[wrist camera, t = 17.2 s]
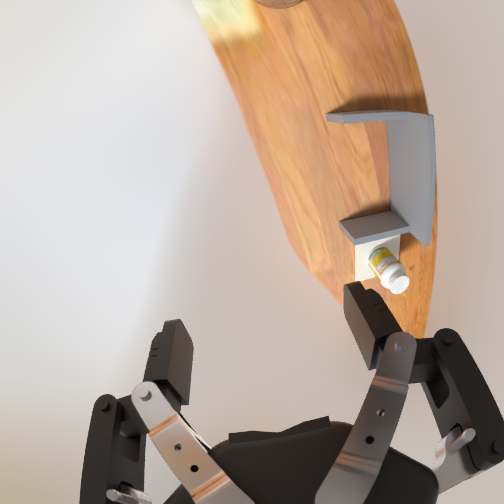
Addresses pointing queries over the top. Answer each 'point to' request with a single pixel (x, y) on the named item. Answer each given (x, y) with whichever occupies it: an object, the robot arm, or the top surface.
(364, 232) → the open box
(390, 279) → the supplement bottle
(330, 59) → the top surface
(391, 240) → the mat
